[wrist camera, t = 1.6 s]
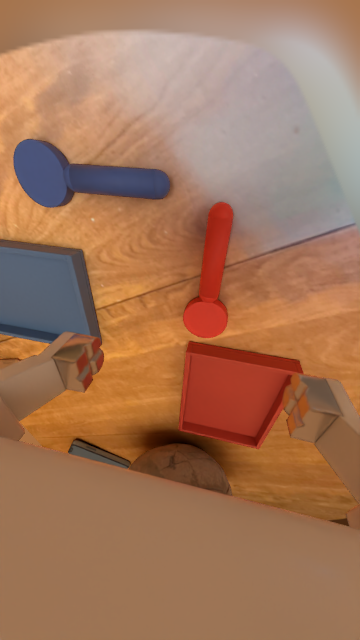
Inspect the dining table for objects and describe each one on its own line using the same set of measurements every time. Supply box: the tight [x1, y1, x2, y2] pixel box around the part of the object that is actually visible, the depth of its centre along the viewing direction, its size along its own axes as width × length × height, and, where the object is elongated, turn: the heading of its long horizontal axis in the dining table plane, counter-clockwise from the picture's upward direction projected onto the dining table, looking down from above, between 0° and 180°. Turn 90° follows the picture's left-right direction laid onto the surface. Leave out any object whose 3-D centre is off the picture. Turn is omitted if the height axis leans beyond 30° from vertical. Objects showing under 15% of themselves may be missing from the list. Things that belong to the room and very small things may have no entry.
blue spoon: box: [14, 139, 170, 207], centre depth 18 cm, size 14×5×2 cm, turn 87°
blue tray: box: [0, 240, 102, 344], centre depth 27 cm, size 18×13×2 cm
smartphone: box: [68, 440, 130, 469], centre depth 53 cm, size 8×2×15 cm
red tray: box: [178, 341, 304, 449], centre depth 30 cm, size 13×18×2 cm
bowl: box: [129, 443, 232, 496], centre depth 37 cm, size 22×22×15 cm
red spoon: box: [183, 202, 233, 338], centre depth 20 cm, size 14×5×2 cm, turn 177°
